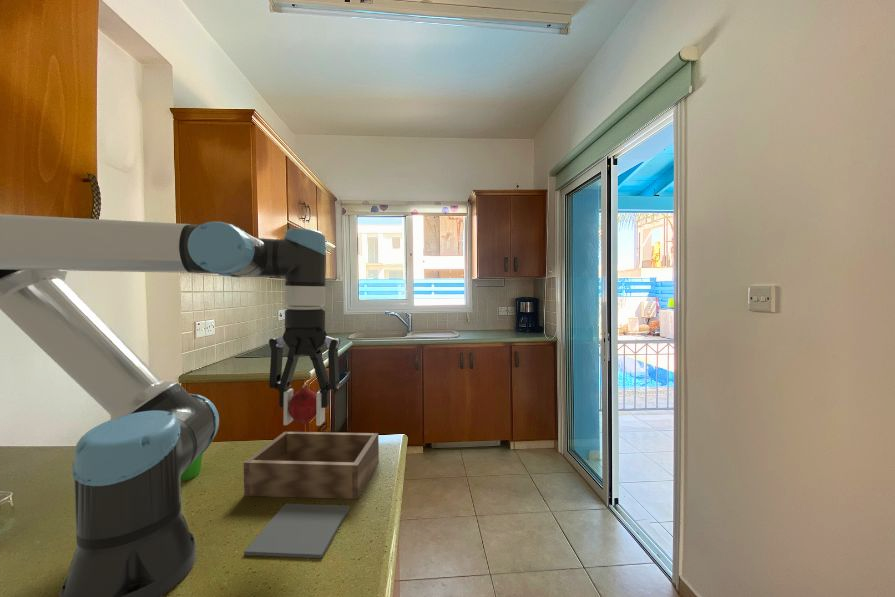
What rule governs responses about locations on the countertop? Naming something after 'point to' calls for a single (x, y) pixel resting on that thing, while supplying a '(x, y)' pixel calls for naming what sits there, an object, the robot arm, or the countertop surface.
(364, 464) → the box
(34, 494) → the countertop surface
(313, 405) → the onion
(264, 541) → the mat
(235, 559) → the countertop surface
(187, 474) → the cup
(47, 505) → the countertop surface
